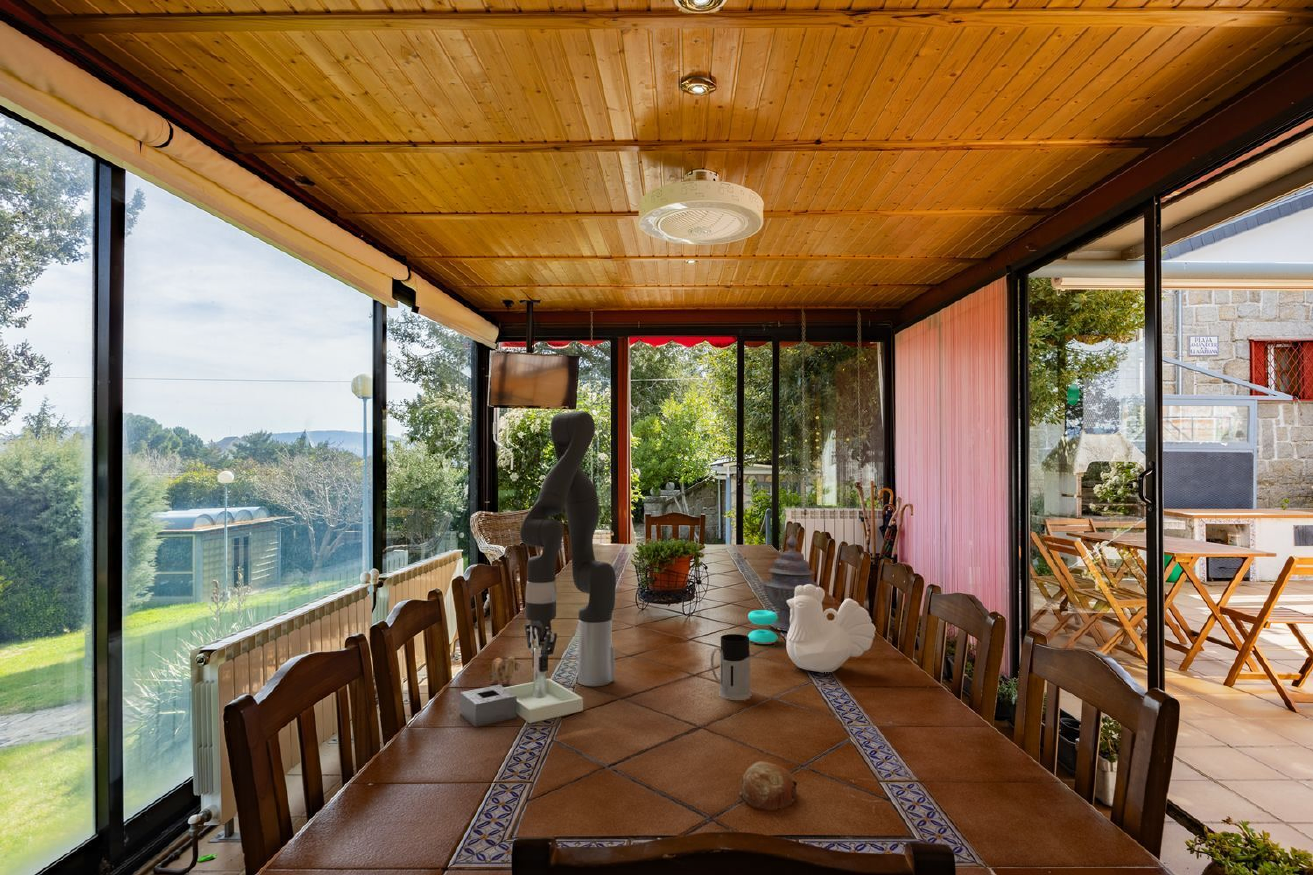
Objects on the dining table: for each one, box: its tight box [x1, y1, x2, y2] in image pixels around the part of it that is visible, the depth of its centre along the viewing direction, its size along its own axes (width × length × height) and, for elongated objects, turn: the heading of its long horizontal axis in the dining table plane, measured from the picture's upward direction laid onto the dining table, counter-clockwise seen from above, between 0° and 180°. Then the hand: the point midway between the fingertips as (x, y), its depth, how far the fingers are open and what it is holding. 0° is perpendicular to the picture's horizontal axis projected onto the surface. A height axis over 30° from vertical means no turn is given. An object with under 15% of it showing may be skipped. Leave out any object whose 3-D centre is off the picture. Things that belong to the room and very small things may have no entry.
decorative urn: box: [762, 533, 820, 630], centre depth 256 cm, size 20×20×35 cm
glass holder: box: [710, 633, 753, 701], centre depth 181 cm, size 9×14×15 cm, turn 137°
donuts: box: [747, 609, 779, 643], centre depth 236 cm, size 10×10×10 cm
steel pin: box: [533, 639, 547, 698], centre depth 172 cm, size 3×3×14 cm
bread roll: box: [739, 761, 798, 811], centre depth 128 cm, size 10×10×8 cm
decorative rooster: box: [785, 584, 876, 674], centre depth 204 cm, size 25×16×25 cm, turn 65°
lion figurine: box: [489, 656, 522, 686], centre depth 190 cm, size 15×5×9 cm, turn 39°
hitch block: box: [459, 684, 518, 728], centre depth 165 cm, size 10×10×6 cm
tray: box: [504, 678, 584, 724], centre depth 172 cm, size 14×18×4 cm
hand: (540, 669), depth 172 cm, fingers closed on steel pin, 3 cm apart
